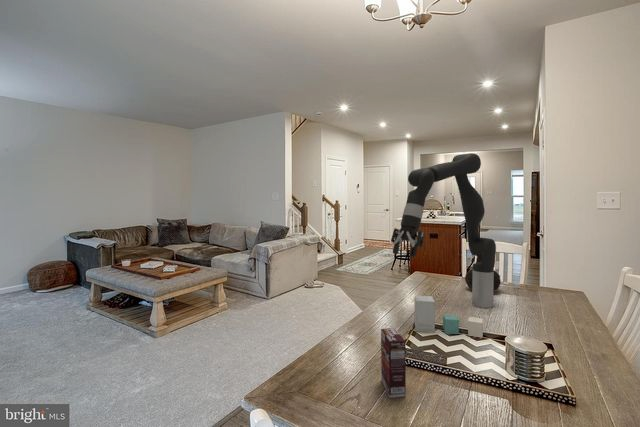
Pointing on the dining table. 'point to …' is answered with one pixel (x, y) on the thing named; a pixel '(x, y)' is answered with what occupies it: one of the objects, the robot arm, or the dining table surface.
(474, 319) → the cream block
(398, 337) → the supplement box
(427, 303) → the supplement box
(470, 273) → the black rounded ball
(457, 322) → the teal block
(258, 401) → the dining table surface
